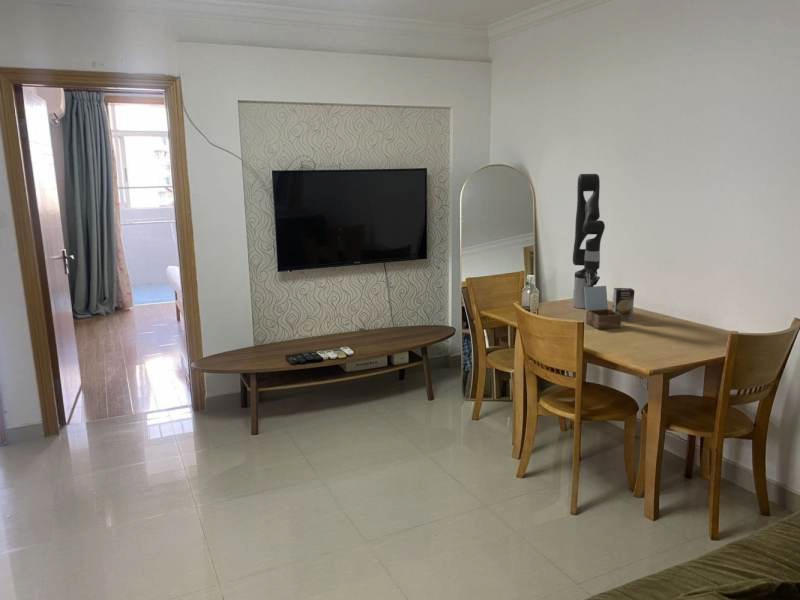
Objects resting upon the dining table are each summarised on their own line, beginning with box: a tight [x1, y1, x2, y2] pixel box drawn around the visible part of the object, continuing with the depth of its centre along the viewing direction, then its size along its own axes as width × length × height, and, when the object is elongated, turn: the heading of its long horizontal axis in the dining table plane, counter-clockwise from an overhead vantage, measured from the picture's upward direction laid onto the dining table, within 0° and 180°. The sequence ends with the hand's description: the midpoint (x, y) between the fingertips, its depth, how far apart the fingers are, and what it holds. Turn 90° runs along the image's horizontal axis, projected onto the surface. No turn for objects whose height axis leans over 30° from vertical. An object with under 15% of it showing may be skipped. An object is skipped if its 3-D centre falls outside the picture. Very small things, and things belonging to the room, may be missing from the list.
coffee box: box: [611, 287, 635, 321], centre depth 312 cm, size 9×6×16 cm
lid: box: [584, 285, 609, 312], centre depth 306 cm, size 12×12×1 cm
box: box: [585, 308, 622, 331], centre depth 300 cm, size 12×12×7 cm
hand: (590, 292), depth 310 cm, fingers closed
